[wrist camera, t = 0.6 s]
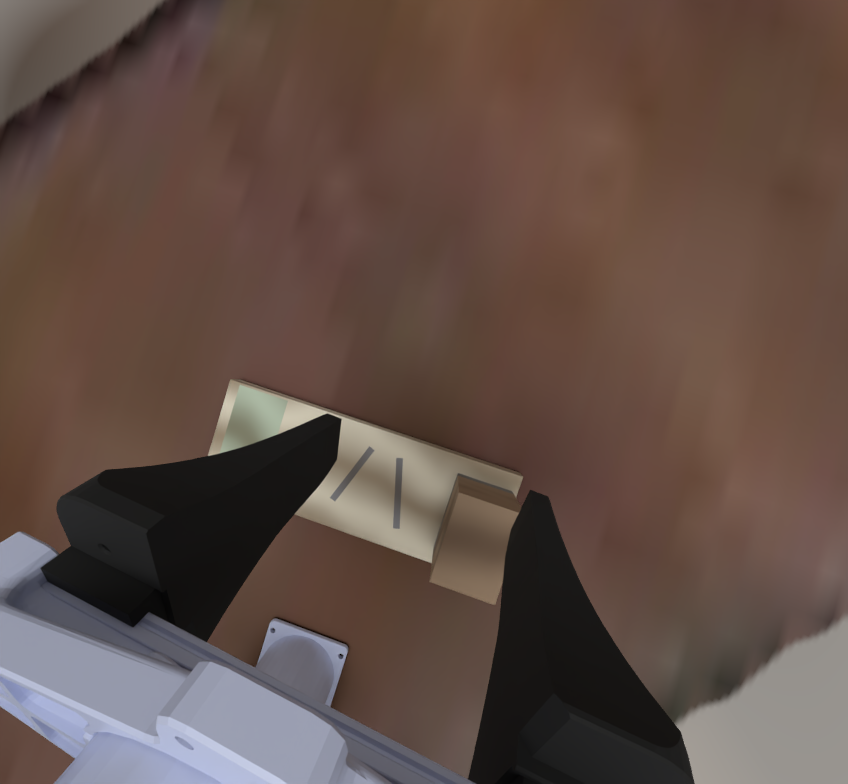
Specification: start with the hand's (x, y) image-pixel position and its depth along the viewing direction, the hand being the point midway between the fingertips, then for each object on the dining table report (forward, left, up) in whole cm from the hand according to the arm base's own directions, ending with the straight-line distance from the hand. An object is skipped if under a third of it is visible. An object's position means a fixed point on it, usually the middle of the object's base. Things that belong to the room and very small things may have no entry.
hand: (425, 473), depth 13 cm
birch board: (-7, +6, -21) cm, 23 cm away
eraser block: (-7, -5, -20) cm, 22 cm away
